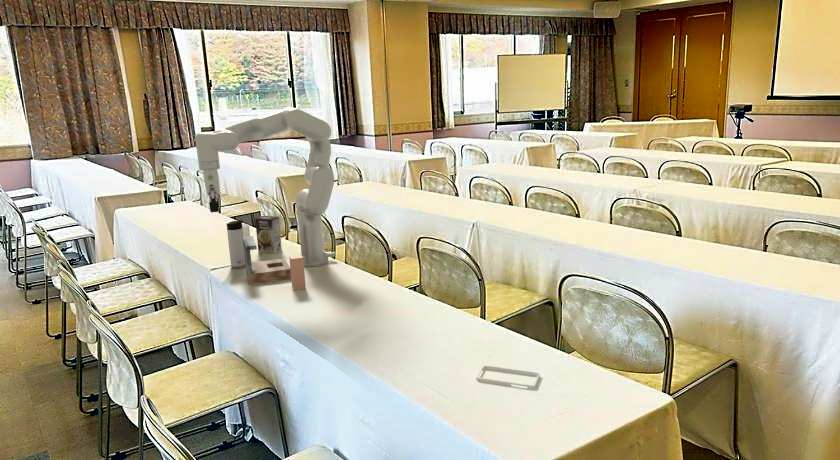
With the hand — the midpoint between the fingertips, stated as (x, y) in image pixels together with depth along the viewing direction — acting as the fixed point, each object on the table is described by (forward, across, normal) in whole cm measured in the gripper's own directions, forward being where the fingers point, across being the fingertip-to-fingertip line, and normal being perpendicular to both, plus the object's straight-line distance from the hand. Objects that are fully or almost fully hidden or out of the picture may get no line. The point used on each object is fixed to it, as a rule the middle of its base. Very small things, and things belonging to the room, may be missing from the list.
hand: (214, 209), depth 238 cm
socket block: (+28, -3, -17) cm, 33 cm away
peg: (+28, -22, -27) cm, 45 cm away
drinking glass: (+29, +27, -9) cm, 40 cm away
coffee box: (+29, +34, -21) cm, 50 cm away
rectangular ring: (+29, -116, -67) cm, 138 cm away
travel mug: (+29, +15, -7) cm, 33 cm away
